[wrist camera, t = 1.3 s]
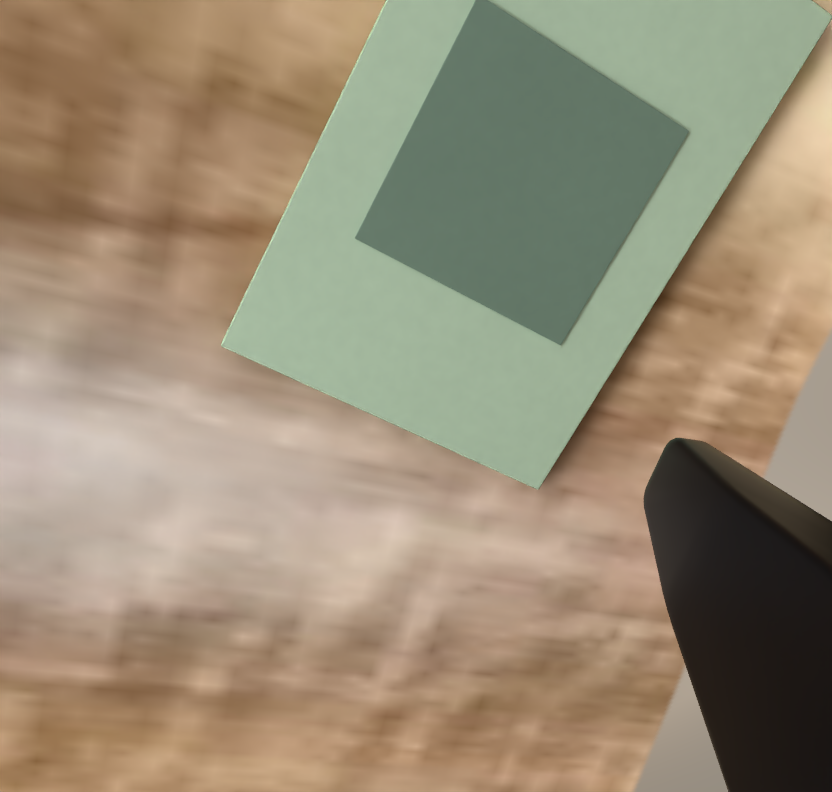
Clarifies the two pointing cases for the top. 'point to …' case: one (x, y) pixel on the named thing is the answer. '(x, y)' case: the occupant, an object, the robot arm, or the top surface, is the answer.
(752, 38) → the mat
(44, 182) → the top surface
